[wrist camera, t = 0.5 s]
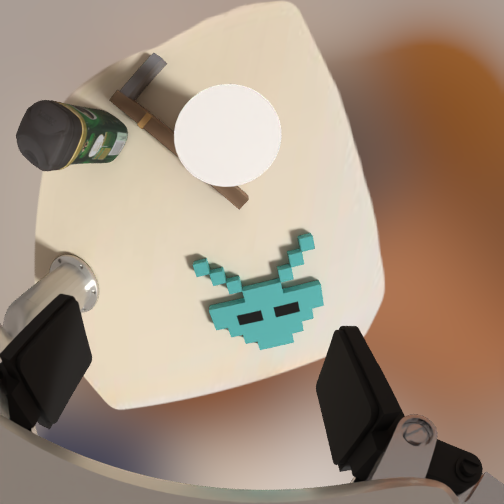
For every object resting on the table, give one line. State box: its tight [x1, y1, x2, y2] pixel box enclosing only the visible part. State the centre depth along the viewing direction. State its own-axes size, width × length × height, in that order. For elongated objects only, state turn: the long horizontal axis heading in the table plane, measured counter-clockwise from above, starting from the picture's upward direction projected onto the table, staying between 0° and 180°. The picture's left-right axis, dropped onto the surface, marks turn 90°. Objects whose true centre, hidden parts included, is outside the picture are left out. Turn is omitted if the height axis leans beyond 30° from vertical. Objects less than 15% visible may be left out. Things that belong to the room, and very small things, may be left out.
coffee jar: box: [16, 100, 128, 171], centre depth 30 cm, size 10×8×19 cm
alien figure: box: [193, 233, 324, 350], centre depth 49 cm, size 20×2×20 cm
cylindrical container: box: [174, 84, 281, 187], centre depth 29 cm, size 7×7×25 cm
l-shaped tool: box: [109, 53, 249, 209], centre depth 37 cm, size 10×27×4 cm, turn 48°
